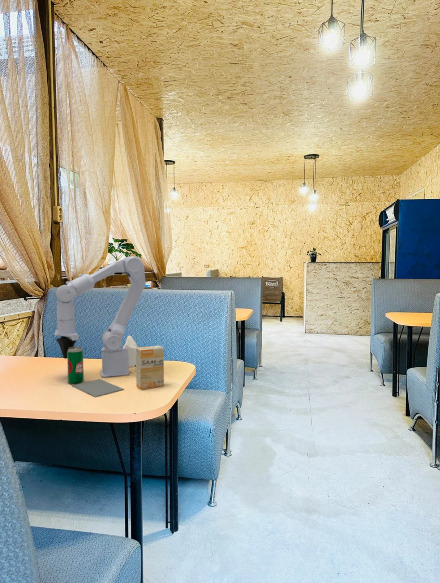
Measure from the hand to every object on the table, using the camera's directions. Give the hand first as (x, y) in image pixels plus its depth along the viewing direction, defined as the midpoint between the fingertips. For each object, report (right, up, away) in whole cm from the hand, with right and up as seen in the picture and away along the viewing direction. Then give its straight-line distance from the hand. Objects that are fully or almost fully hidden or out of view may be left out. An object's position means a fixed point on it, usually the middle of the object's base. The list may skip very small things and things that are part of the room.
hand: (67, 357), depth 140 cm
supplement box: (+31, -8, -9) cm, 33 cm away
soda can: (+4, -8, -4) cm, 10 cm away
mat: (+14, -8, -10) cm, 19 cm away
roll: (+18, -6, +19) cm, 27 cm away
